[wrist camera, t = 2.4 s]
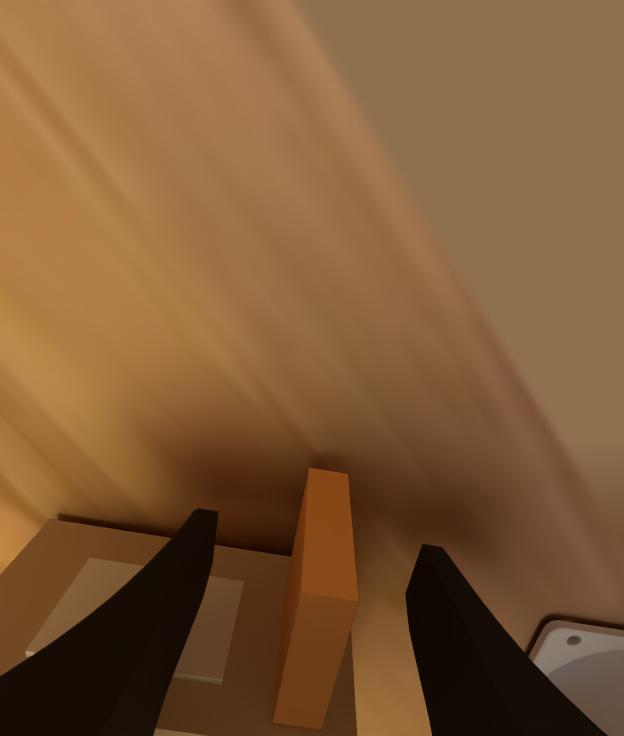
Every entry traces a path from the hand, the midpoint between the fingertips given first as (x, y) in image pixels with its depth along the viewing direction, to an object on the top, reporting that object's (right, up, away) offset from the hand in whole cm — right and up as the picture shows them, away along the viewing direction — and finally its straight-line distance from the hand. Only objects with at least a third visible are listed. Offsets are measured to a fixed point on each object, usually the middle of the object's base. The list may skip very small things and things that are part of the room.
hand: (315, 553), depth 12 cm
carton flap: (-4, +1, +2) cm, 4 cm away
